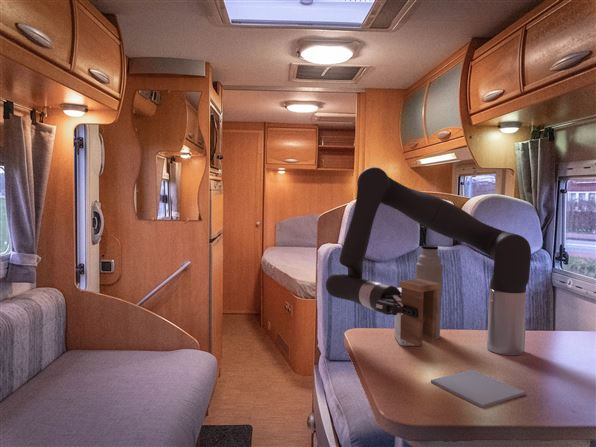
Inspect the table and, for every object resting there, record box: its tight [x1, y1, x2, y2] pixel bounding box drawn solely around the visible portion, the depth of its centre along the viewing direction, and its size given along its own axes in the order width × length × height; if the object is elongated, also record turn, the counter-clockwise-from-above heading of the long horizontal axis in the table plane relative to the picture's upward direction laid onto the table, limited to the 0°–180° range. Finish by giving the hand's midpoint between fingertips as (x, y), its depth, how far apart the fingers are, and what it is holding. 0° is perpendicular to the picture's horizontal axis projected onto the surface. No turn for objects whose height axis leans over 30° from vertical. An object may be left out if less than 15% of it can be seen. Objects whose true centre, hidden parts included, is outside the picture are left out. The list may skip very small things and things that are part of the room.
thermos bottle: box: [414, 244, 444, 340], centre depth 139 cm, size 8×8×28 cm
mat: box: [430, 369, 526, 409], centre depth 101 cm, size 14×14×1 cm
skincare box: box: [394, 287, 422, 347], centre depth 132 cm, size 8×7×16 cm
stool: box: [398, 278, 440, 347], centre depth 107 cm, size 6×7×14 cm
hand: (426, 311), depth 105 cm, fingers closed on stool, 5 cm apart
